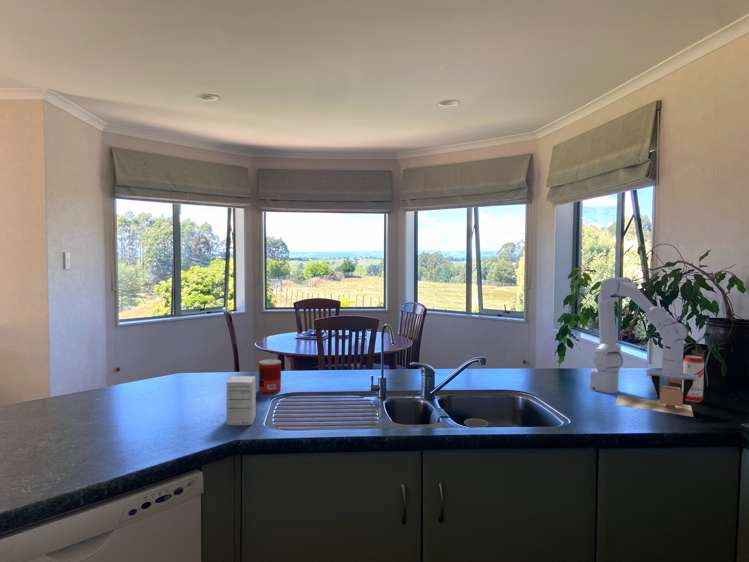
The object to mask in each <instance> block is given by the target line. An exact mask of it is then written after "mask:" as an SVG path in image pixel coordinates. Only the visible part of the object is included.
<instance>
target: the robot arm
mask: <svg viewBox="0 0 749 562" xmlns="http://www.w3.org/2000/svg"><path fill="white" fill-rule="evenodd" d="M599 290H600V291H599V293H598V295H597V311H598V312H597V313H598V316H597V317H598V330H599V331H598V333H599V344H598V346H597V347H596V348H595V349H594V356H593V359H592V361H593V365H594V367H595V368H591V371H590V382H589V391H595V392H600V393H606V394H617V393H618V392H619V374H620V372H619V371H620V368H621V367H623V364H624V358H623V355H622V352H621V348H620V347H619V346H618V345H617V339H616V316H615V315H616V314H615V302H616V301H618V300H619V299H620V298H621V297H625V298H629V299H630V300H631V301H632V302H633V303H635V304H636V305H637V307H639V308H640V309H641V310H642V311H643V312H644V313H645V318H646V319H647V320H648V321H649V322H650V323H651V324H652V325H653V327H655V328H656V330H658V331H659V333H658V335H659V337H660V338H661V340H662V360H661V361H662V362H661V370H658V369H657V370H656V369H646V375H645V376H646V377H651V379H650V380H651V382H652V383H653V384H652V385H653V386H654V389H655V391H656V396H657V397H656V399H657V400H659V399H660V385H661V384H660V383H661V378H662V379H663V378H664V379H671V380H681V381H682V380H683V404H686V396H687V394H688V392H689V390H690V389H691V387H692V386H693V381H694V382H698V381H699V376H698V375H692V374H686V373H683V360H684V345H685V344H684V342H685V341H684V340H686V339H687V337H688V329H687V327H686V326H685V324H683V323H681V322H677V319H675V318H673V317H671V316H670V314H668V313H667V312H666V311H667V309H665V308H664V307H661V306H655V305H654V304H653V303H652V302H651V301H650V299H648V298H647V297H646V295H645V294H644V293H643V292H642V291H641V290H640V289H639V288H638V286H637V284H636V283H635V282H634V281H632V279H631V278H629V277H626V276H625V277H613V276H612V277H611V276H609V277H608V276H607V277H606V278H605V279H604V280H603V281H601V283H600V289H599Z"/></svg>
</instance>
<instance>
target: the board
mask: <svg viewBox="0 0 749 562" xmlns="http://www.w3.org/2000/svg"><path fill="white" fill-rule="evenodd" d="M614 405H615V406H620V407H627V408H634V409H639V410H640V409H641V410H647V411H652V412H660V413H665V414H672V415H679V416H685V417H691V418H693V417H694V414H693V413H694V412H693V409H692V405H689V404H683V407H681V406H674V405H667V404H660V402H659V400H655V399H648V398H641V397H633V396H626V395H617V397H616V400H615V404H614Z"/></svg>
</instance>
